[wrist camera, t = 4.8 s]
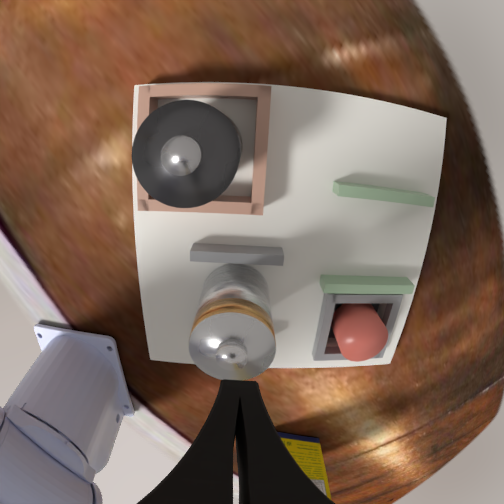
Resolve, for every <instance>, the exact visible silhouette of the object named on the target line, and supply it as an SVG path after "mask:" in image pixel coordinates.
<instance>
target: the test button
mask: <svg viewBox="0 0 504 504" xmlns="http://www.w3.org/2000/svg"><path fill="white" fill-rule="evenodd" d="M331 327H332V330H333V333H334V335H335V338H336V340H337V343H338V346H339V348H340V351H341V353H342V355H343V356H344V357H345V358H346V359H348V360H350V361H355V362H359V361H365V360H368V359H370V358H372V357H374V356H376V355H377V354H378V353H379V352H380V351H381V350H382V349H383V348H384V347H385V345H386V343H387V340H388V330H387V328H386V327H385V325H384V323H383V322H382V320H381V319H380V317H379V315H378V314H377V312H376V311H375V309H374V307H373V306H372V304H371V303H343V304H342V305H341V306H339V307H338V308H337V309H336V311H335V312H334V314H333V318H332V322H331Z"/></svg>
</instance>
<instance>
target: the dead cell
mask: <svg viewBox="0 0 504 504" xmlns="http://www.w3.org/2000/svg"><path fill="white" fill-rule="evenodd" d="M241 154H242V137H241V134H240V132H239V129H238V128H237V126H236V124H235V123H234V122H233V121H232V120H231V119H230V118H229V117H228V116H226V115H225V114H223V113H222V112H220V111H219V110H218V109H216V108H215V107H213V106H211V105H209V104H207V103H204V102H201V101H195V100H178V101H174V102H170V103H167V104H165V105H163V106H161V107H159V108H157V109H156V110H155V111H153V112H152V113H151V114H150V115H149V116H147V118H146V119H145V120H144V121H143V122H142V124H141V125H140V127H139V129H138V131H137V133H136V135H135V138H134V141H133V146H132V164H133V169H134V172H135V175H136V177H137V179H138V181H139V183H140V184H141V186H142V187H143V188H144V190H145V191H146V192H147V193H148V194H149V195H150V196H151V197H153V198H154V199H156V200H157V201H159V202H161V203H163V204H165V205H168V206H172V207H176V208H193V207H198V206H202V205H205V204H207V203H209V202H211V201H213V200H214V199H216V198H217V197H219V196H220V195H221V194H222V193H223V192H224V191H225V190H226V189H227V188H228V186H229V185H230V184H231V182H232V180H233V179H234V177H235V174H236V172H237V169H238V165H239V162H240V158H241Z"/></svg>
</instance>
